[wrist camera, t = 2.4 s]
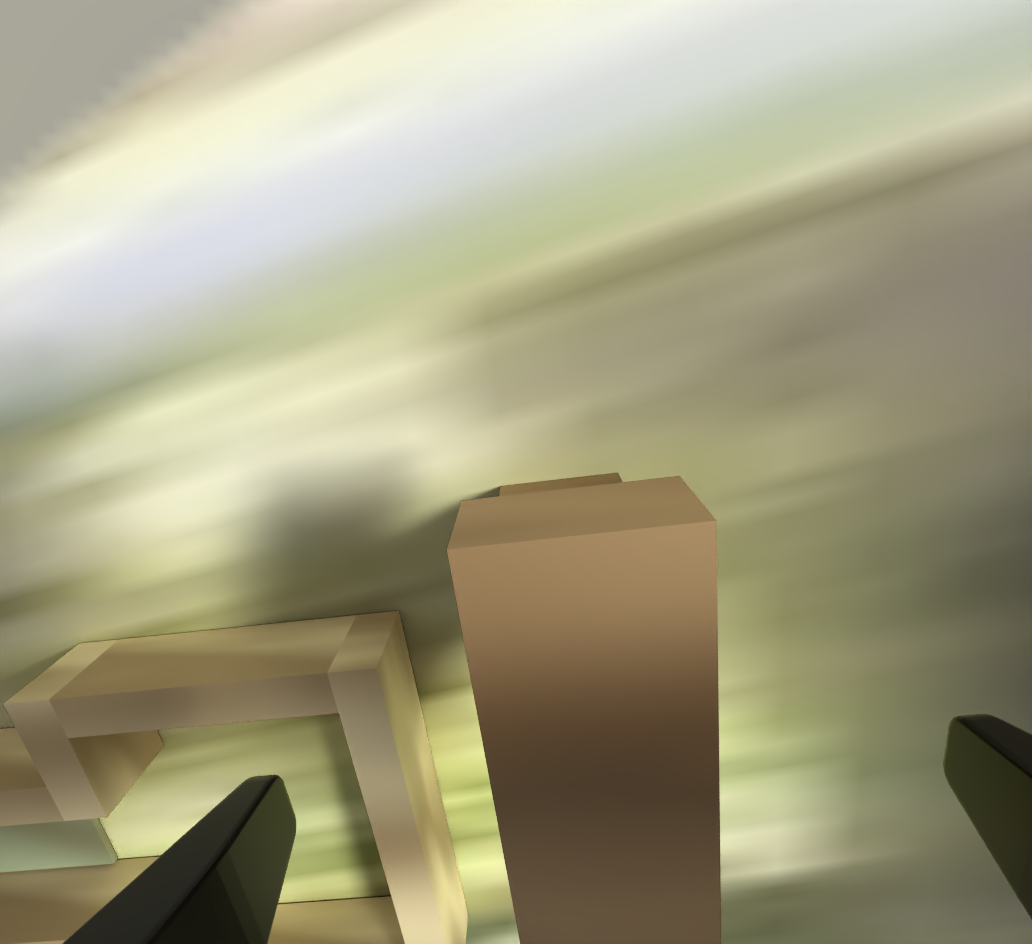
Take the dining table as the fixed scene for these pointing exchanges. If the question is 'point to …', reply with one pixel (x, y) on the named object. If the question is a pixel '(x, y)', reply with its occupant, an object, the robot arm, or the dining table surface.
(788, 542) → the dining table surface
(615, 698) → the tan brick
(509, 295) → the dining table surface
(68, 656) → the keyhole cradle
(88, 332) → the dining table surface
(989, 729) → the robot arm
